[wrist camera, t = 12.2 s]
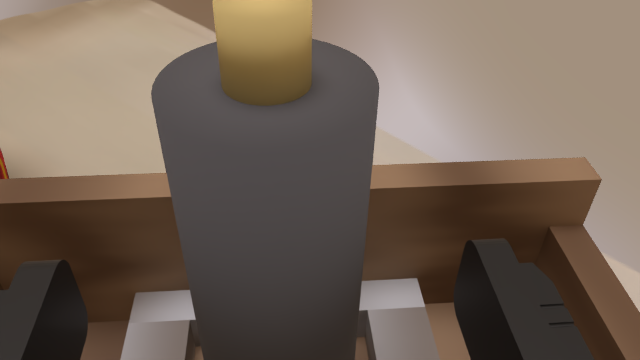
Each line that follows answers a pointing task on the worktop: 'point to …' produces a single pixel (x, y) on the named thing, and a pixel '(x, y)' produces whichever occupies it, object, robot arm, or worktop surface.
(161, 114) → the tall grey cylinder
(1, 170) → the soda can
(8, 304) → the robot arm
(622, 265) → the worktop surface
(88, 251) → the bay
